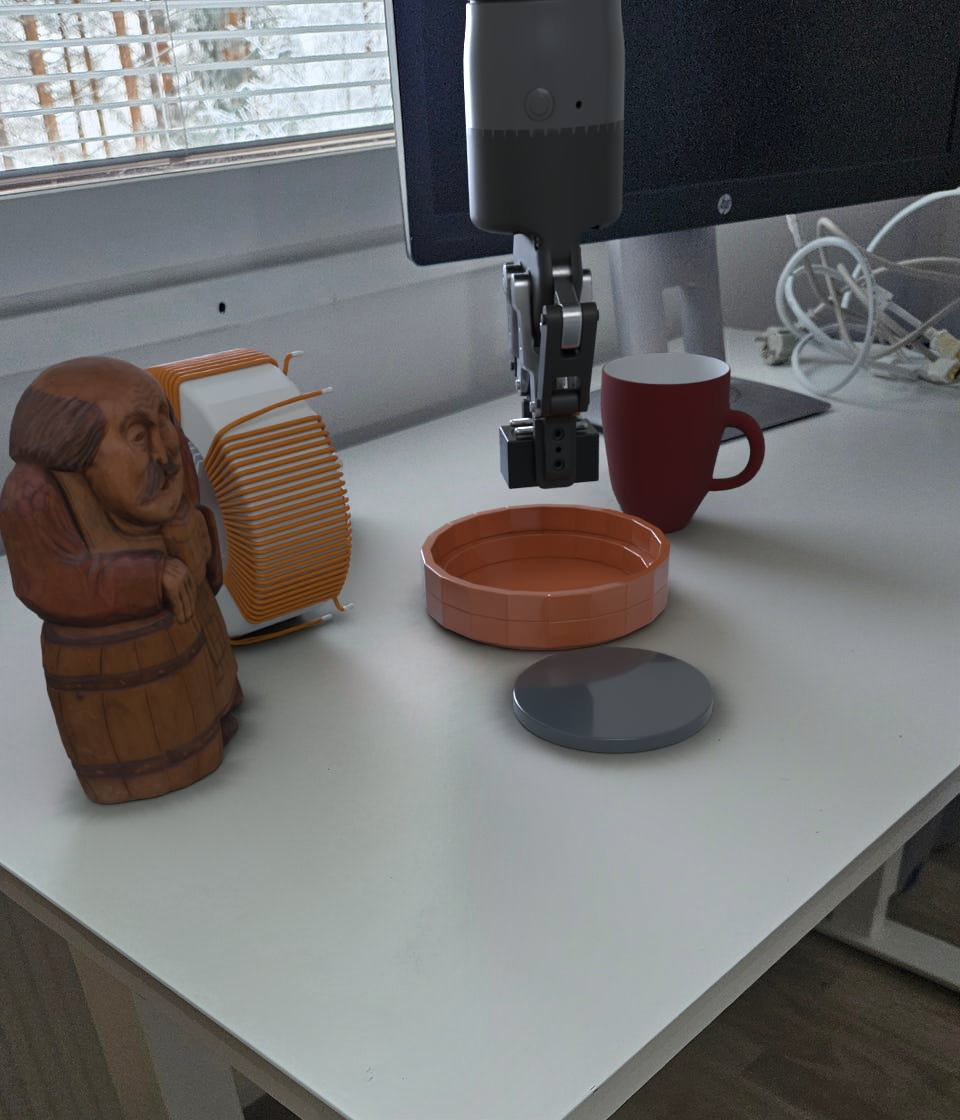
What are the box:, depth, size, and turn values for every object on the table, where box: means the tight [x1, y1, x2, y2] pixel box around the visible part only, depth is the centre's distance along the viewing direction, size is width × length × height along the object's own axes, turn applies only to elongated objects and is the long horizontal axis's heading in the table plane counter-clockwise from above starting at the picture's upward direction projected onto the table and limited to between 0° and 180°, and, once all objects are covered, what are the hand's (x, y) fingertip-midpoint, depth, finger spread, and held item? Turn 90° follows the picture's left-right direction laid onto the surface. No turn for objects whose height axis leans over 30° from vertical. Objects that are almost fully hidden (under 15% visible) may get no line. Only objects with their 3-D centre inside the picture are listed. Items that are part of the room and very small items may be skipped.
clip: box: [498, 414, 600, 490], centre depth 68 cm, size 5×3×3 cm, turn 98°
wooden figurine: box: [0, 355, 245, 805], centre depth 55 cm, size 12×6×18 cm, turn 173°
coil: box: [143, 347, 356, 646], centre depth 68 cm, size 7×15×15 cm, turn 40°
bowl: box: [420, 503, 672, 651], centre depth 72 cm, size 14×14×4 cm
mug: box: [600, 352, 766, 534], centre depth 80 cm, size 11×8×10 cm
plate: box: [512, 646, 714, 754], centre depth 62 cm, size 10×10×1 cm
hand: (548, 474), depth 68 cm, fingers closed on clip, 3 cm apart
